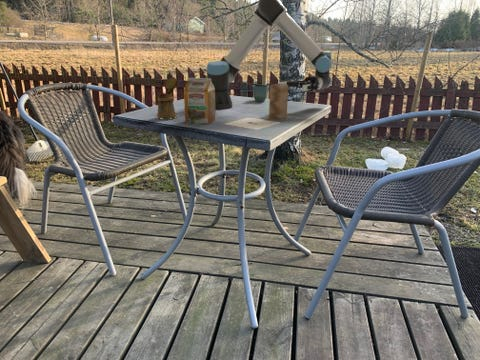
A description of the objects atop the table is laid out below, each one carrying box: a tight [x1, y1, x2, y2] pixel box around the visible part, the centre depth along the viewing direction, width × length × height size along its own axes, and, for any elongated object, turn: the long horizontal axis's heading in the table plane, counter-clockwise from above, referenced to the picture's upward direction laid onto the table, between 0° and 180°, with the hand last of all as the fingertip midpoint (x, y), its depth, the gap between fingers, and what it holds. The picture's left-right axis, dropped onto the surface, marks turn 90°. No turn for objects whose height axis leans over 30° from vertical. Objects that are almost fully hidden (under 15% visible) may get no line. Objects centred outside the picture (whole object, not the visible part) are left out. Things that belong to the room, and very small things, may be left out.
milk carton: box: [183, 77, 216, 125], centre depth 163 cm, size 11×11×19 cm
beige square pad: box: [224, 117, 281, 131], centre depth 164 cm, size 18×18×1 cm
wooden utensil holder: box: [156, 76, 178, 119], centre depth 173 cm, size 9×14×18 cm, turn 162°
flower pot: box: [252, 84, 270, 102], centre depth 222 cm, size 9×9×9 cm
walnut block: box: [268, 83, 289, 120], centre depth 172 cm, size 6×6×15 cm
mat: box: [260, 115, 297, 123], centre depth 175 cm, size 12×12×1 cm
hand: (290, 86), depth 178 cm, fingers open, 13 cm apart
